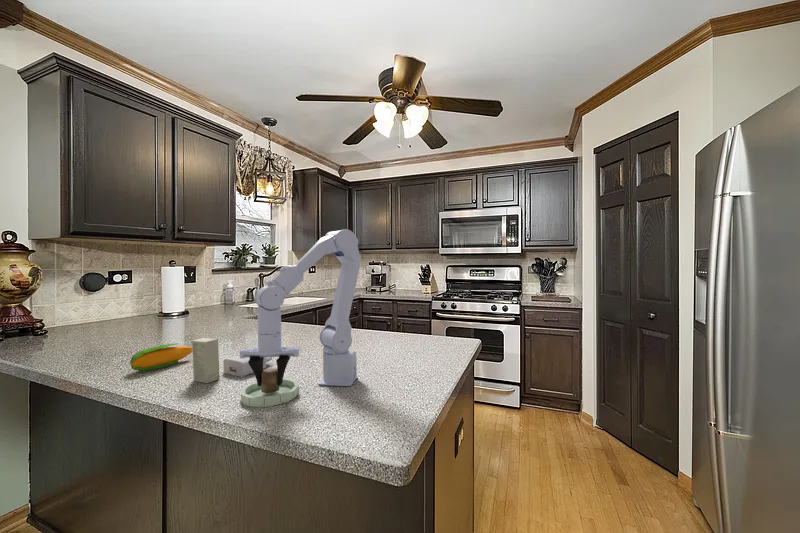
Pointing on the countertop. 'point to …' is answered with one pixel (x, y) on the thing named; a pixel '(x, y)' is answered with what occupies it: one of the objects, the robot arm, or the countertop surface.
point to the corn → (158, 357)
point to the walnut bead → (269, 380)
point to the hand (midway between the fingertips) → (270, 384)
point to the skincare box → (205, 360)
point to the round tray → (269, 394)
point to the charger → (240, 365)
